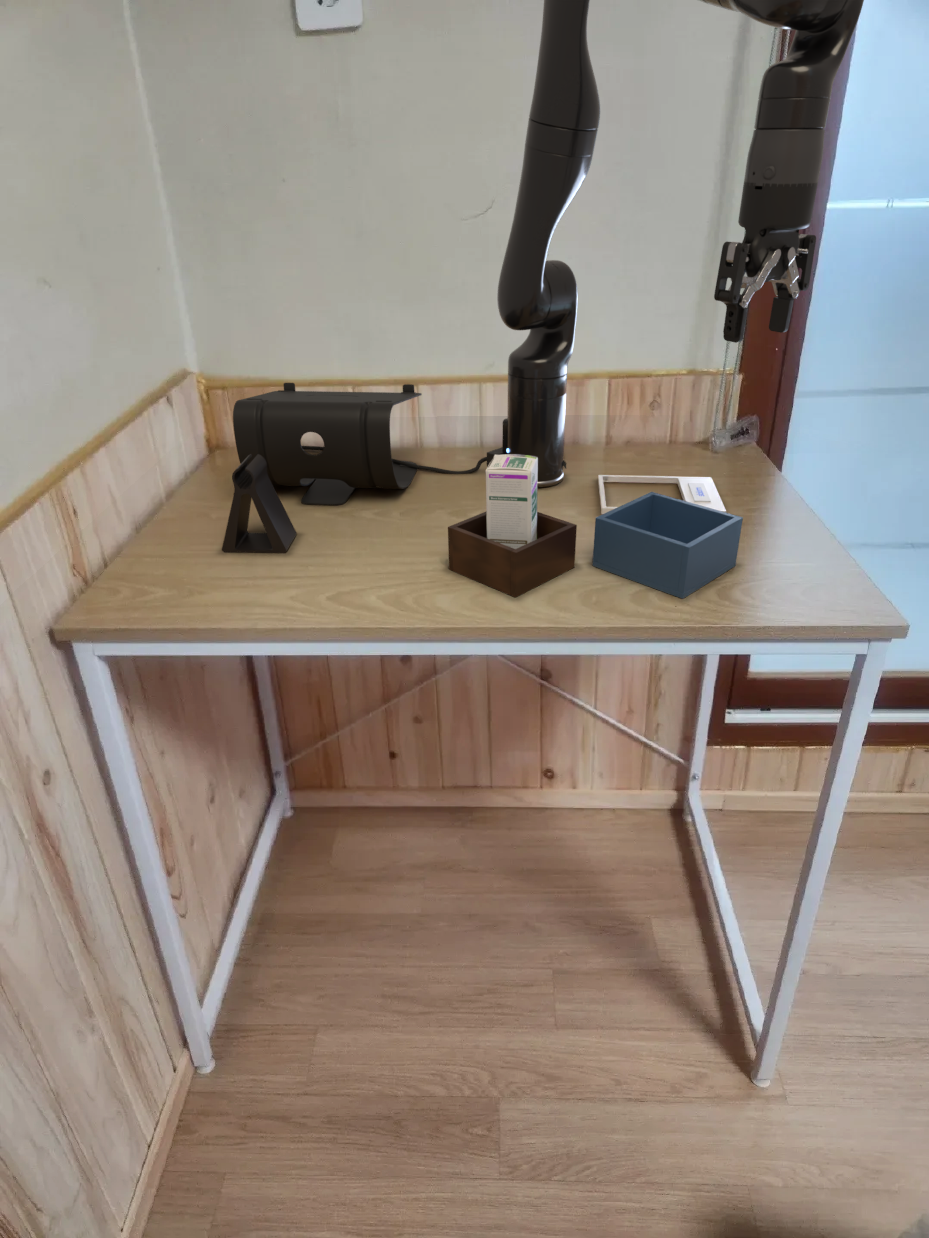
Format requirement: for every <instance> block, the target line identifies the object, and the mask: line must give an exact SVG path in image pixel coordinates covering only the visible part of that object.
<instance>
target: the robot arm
mask: <svg viewBox="0 0 929 1238" xmlns="http://www.w3.org/2000/svg"><path fill="white" fill-rule="evenodd" d="M590 1H591V0H543V8H542V9H543V10H542V21H541V22H542V23H541V32H540V41H539V50H538V57H537V65H536V72H535V80H534V87H533V93H532V99H531V105H530V110H529V115H528V121H527V127H526V135H525V141H524V150H523V156H522V157H523V158H522V165H521V173H520V179H519V184H518V185H519V186H518V192H517V197H516V202H515V208H514V214H513V219H512V224H511V228H510V232H509V237H508V239H507V240H508V241H507V245H506V248H505V253H504V257H503V260H502V265H501V269H500V274H499V278H498V285H497V293H496V295H497V297H496V299H497V309H498V313H499V317H500V319H501V321H502V323H503V324H504V325H505V326H506V327H507V328H509V329H510V330H513V331H529V333H528V335H527V337H526V339H525V340H524V341H523V342H522V343H521V344H520V345H519V346H518V347H517V348H515V349H514V350H513V351H511V353H510V354H509V355H508V358H507V416H506V417H507V418H504V419H503V420H502V436H501V437H502V444H501V445H502V446H501V447H498V448H496V449H493V450H490V451H487V452H486V456H485V457H482V458H480V459H479V460H478V461H477V463H476V465H475V467H472V468H471V469H467V470H460V471H459V470H449V469H444V468H438V467H434V466H428V465H420V464H417V465H415V464H410V463H407V462H403V461H404V460H399V459H395V458H392V463H396V464H402V465H405V466H408V467H411V468H415V469H417V470H420V471H428V472H434V473H439V474H445V475H467V474H468V475H471V474H473V473H476V472H477V471H480V468H481V466H482V465H483V463H485V462H486V468H487V467H488V465H489V463H490V462H491V461H492V459H493V457H494V455H504V454H519V455H529V456H536V457H537V458H538V488H546V487H551V486H556V485H558V484H560V483H561V482H563V480H564V469H567V462H566V461H565V460H564V457H565V456H564V455H565V434H566V430H565V429H566V412H567V387H568V385H567V384H568V368H569V362H570V360H571V358H572V356H573V355H572V354H573V351H574V346H575V338H576V337H575V335H576V325H577V318H578V317H577V315H578V302H579V297H578V296H579V295H578V294H579V292H578V284H577V279H576V277H575V274H574V271H573V270H572V268H571V267H570V266H569V265H568V264H567V263H566V262H563V261H562V260H558V259H548V260H547V257H548V253H549V248H550V244H551V241H552V238H553V236H554V233H555V231H556V229H557V226H558V224H559V223H560V221H561V219H562V217H563V216H564V214H565V212H566V211H567V209H568V208H569V206H570V205H571V203H572V202H573V200H574V199H575V197H576V195H577V194H578V193H579V190H580V188H581V187H582V185H583V183H584V182H585V180H586V177H587V175H588V173H589V170H590V168H591V165H592V161H593V156H594V152H595V146H596V141H597V136H598V130H599V127H600V126H599V125H600V120H601V102H600V101H601V100H600V95H599V90H598V84H597V81H596V76H595V72H594V69H593V65H592V61H591V55H590V51H589V45H588V32H587V30H588V29H587V28H588V16H589V9H590V8H589V7H590ZM697 1H698V2H702V3H705V4H707V5H711V6H714V7H718V8H720V9H724V10H727V11H731V12H735V13H740V14H742V15H744V16H746V17H748V18H749V19H751V20H754V21H755V22H758V23H761V24H763V25H766V26H770V27H773V28H777V29H781V30H789V31H795V32H794V35H793V39H792V41H791V44H790V48H789V50H788V52H787V55H786V57H785V58H784V59H783V60H779V61H777V62H775V63H773V64H771V65H769V66H768V68H766V70H765V71H764V73H763V75H762V78H761V83H760V86H759V92H758V99H757V104H756V111H755V118H754V126H753V128H754V129H753V132H752V137H751V140H750V144H749V148H748V152H747V158H746V165H745V172H744V178H743V186H742V193H741V200H740V207H739V214H738V221H737V222H738V225H739V226H740V227H742V228H744V230H745V232H744V237H743V240H742V242H740V241H725V242H724V243H723V244H722V247H721V253H720V258H719V266H718V270H717V271H718V272H717V277H716V283H715V289H714V294H713V299H714V301H716V302H717V301H718V302H721V303H722V304H724V305H725V308H726V310H725V311H726V312H725V316H724V324H723V331H722V332H723V335H722V336H723V339H724V341H726V342H730V343H735V344H736V343H741V342H742V341H744V336H745V330H746V329H745V328H746V323H747V316H748V311H749V307H748V305H749V303H750V301H751V299H752V297H753V296H754V294H755V292H757V291H759V290H761V289H762V287H763V285H764V283H768V282H769V283H771V285H772V288H773V292H774V295H775V296H774V297H773V300H772V304H771V312H770V318H769V323H768V324H769V325H768V329H769V331H771V332H775V333H785V332H787V331H788V330H789V327H790V322H791V318H792V312H793V306H794V301H795V299H797V298H798V297H799V294H800V292H801V291H803V292H806V291H807V290H808V289H809V287H810V281H811V275H812V270H813V262H814V256H815V249H816V244H817V243H816V242H817V235H814V234H808V233H807V234H805V233H800V230H804V229H807V228H809V227H810V225H811V223H812V219H813V212H814V207H815V202H816V197H817V191H818V185H819V179H820V174H821V168H822V163H823V158H824V157H823V156H824V145H825V133H826V127H827V121H828V116H829V109H830V104H831V98H832V94H833V93H832V91H833V85H834V81H835V78H836V76H837V73H838V71H839V69H840V67H841V65H842V62H843V61H844V58H845V55H846V53H847V50H848V48H849V45H850V42H851V40H852V37H853V35H854V32H855V29H856V26H857V24H858V21H859V18H860V17H861V16H860V15H861V13H862V10H863V6H864V1H865V0H697ZM799 269H801V274H800V273H799ZM745 275H746V276H745ZM799 277H800V278H799ZM728 279H730V282H731V284H730V286H729V288H728V289H727V282H728ZM741 289H743V291H742V293H741ZM301 446H302V448H303V450H304V451H321V452H322V451H323V449H324V446H316V445H301Z"/></svg>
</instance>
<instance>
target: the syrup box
mask: <svg viewBox="0 0 929 1238" xmlns="http://www.w3.org/2000/svg"><path fill="white" fill-rule="evenodd" d="M538 488H539V487H538V458H537V457H536V456H529V455H519V454H504V455H494V457H493V459H492V461H491V462H490V463H489V465H488V467H487V466H486V469H485V512H486V521H487V522H486V525H487V539H490V540H493V541H495V542H498V543H501V544H503V545H506V546H509V547H511V548H514V549H517V548H519V547H521V546H523V545H526V544H528V543H530V542H532V541H534V540H537V512H538Z"/></svg>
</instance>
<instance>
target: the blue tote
mask: <svg viewBox="0 0 929 1238" xmlns="http://www.w3.org/2000/svg"><path fill="white" fill-rule="evenodd" d="M616 507H617V508H615V509H613V510H611V511H609V512H607V513H605V514H601V515H598V516H596V517H595V521H594V533H593V534H594V535H593V551H592V564H591V565H592V567H594V568H597V569H600V570H602V571H605V572H608V573H610V574H613V575H617V576H618V577H622V578H625V579H627V580H630V581H633V582H635V583H638V584H641V585H644V586H646V587H649V588H652V589H655V590H657V591H660V592H663V593H666V594H668V595H671V596H674V597H676V598H679V599H682V600H683V599H685V598H686V597H689V596H690V595H692V594H693V593H695V592H696V591H698V590H700V589H702V588H703V587H704V586H706V585H707V584H709V583H711V582H712V581H714V580H716V579H717V578H719V577H721V576H722V575H723V574H725V573H727V572H728V571H730V570H732V569H733V568H735V567H736V566H737V565H736V564H737V560H738V559H737V558H738V552H739V546H740V539H741V532H742V527H743V521H744V520H743V519H744V517H743V516H740V515H736V514H732V513H730V512H727V511H726V512H722V511H718V510H715V509H711V508H708V507H704V506H701V505H697V504H694V503H690V502H687V501H683V499H679V498H676V497H672V496H668V495H665V494H661V493H658V492H655V491H649V492H648V493H646V494H643V495H641V496H639V497H637V498H635V499H633V500H631V501H628V502H626V503H624V504H621V505H620V506H616Z"/></svg>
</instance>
